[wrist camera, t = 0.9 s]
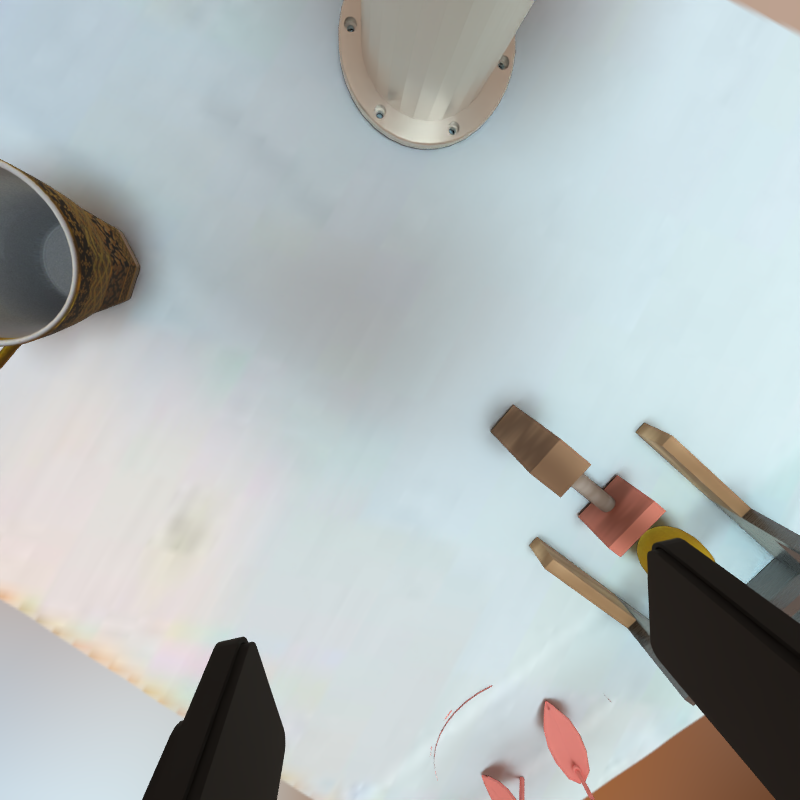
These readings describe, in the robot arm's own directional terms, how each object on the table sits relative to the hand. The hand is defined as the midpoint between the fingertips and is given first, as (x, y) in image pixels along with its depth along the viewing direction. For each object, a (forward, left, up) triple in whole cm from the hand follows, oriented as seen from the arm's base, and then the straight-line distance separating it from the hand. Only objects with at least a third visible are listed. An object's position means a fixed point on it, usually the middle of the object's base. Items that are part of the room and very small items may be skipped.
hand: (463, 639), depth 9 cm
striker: (-4, +18, -27) cm, 32 cm away
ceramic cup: (+8, -23, -28) cm, 37 cm away
